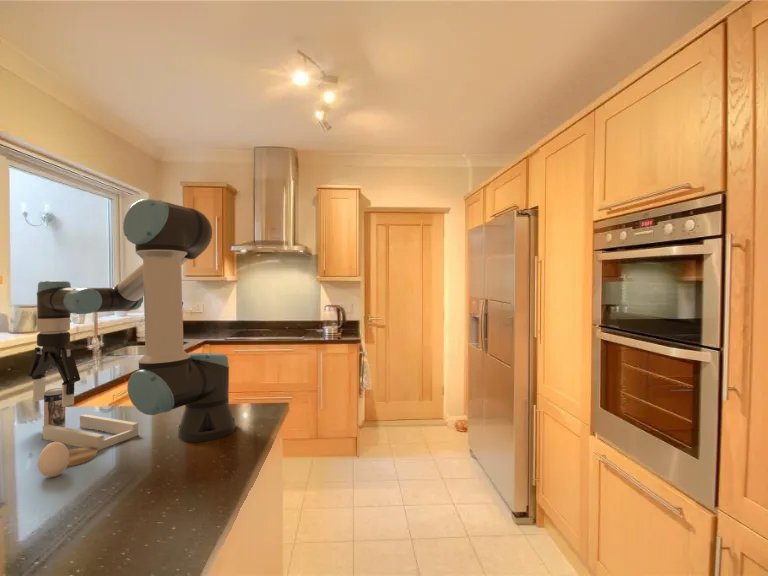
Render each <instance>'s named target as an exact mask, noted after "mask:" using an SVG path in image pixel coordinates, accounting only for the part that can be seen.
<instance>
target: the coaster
mask: <svg viewBox="0 0 768 576" xmlns="http://www.w3.org/2000/svg"><path fill="white" fill-rule="evenodd" d="M68 451H69V456H70V459H69V463H68V466H67V467H66V468H70V467H74V466H77V465H81V464H84V463H86V462H89V461H90V460H93V459H94V458H95V457H96V456H97V455H98V450H97V449H96V448H92V447H76V448H70V449H68Z"/></svg>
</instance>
